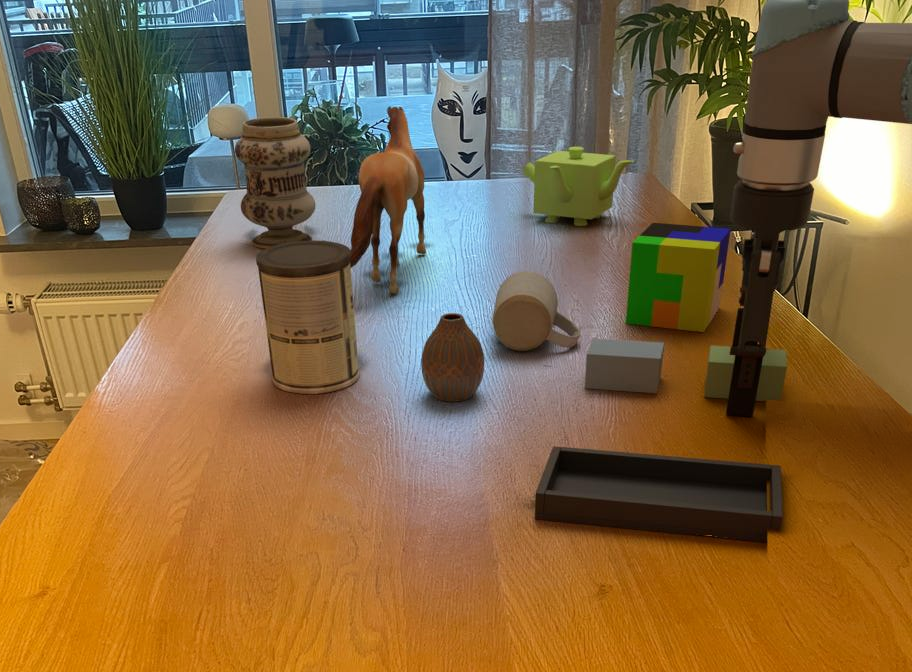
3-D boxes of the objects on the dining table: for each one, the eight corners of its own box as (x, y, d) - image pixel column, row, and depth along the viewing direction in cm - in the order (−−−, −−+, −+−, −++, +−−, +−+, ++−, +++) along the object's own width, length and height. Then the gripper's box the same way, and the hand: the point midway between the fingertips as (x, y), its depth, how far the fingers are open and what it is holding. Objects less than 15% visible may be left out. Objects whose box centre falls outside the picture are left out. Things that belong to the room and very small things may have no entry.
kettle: (629, 225, 168) (635, 152, 161) (550, 234, 165) (553, 160, 158) (593, 204, 180) (598, 135, 173) (519, 213, 177) (520, 143, 170)
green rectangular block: (779, 385, 111) (786, 349, 109) (780, 402, 107) (787, 366, 105) (705, 380, 113) (710, 345, 111) (703, 397, 109) (708, 361, 107)
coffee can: (259, 372, 119) (242, 249, 111) (339, 355, 123) (329, 235, 114) (290, 401, 111) (274, 272, 103) (374, 383, 115) (365, 256, 107)
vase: (493, 387, 113) (494, 310, 108) (470, 411, 108) (469, 330, 103) (437, 379, 115) (435, 303, 110) (412, 402, 110) (408, 323, 105)
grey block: (660, 376, 114) (664, 342, 112) (657, 393, 110) (660, 358, 108) (590, 372, 116) (592, 338, 114) (584, 388, 112) (586, 353, 110)
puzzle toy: (719, 307, 133) (730, 228, 127) (703, 332, 125) (714, 249, 120) (645, 300, 136) (652, 222, 130) (625, 323, 129) (632, 242, 123)
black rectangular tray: (775, 491, 92) (781, 465, 90) (777, 544, 84) (782, 516, 83) (552, 470, 96) (553, 445, 95) (534, 519, 89) (535, 493, 87)
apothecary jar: (300, 254, 159) (287, 129, 149) (232, 250, 162) (215, 126, 152) (330, 234, 168) (320, 115, 158) (265, 230, 172) (251, 113, 161)
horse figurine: (396, 246, 162) (389, 102, 150) (443, 247, 160) (439, 102, 148) (337, 307, 137) (323, 142, 125) (392, 310, 136) (383, 143, 124)
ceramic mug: (490, 353, 121) (492, 289, 117) (495, 330, 128) (497, 269, 123) (578, 357, 120) (583, 292, 116) (579, 333, 127) (584, 271, 122)
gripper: (737, 154, 108) (709, 346, 121) (732, 211, 89) (700, 433, 101) (810, 156, 106) (774, 350, 119) (821, 214, 87) (777, 440, 100)
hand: (740, 389), depth 110 cm, fingers open, 13 cm apart
